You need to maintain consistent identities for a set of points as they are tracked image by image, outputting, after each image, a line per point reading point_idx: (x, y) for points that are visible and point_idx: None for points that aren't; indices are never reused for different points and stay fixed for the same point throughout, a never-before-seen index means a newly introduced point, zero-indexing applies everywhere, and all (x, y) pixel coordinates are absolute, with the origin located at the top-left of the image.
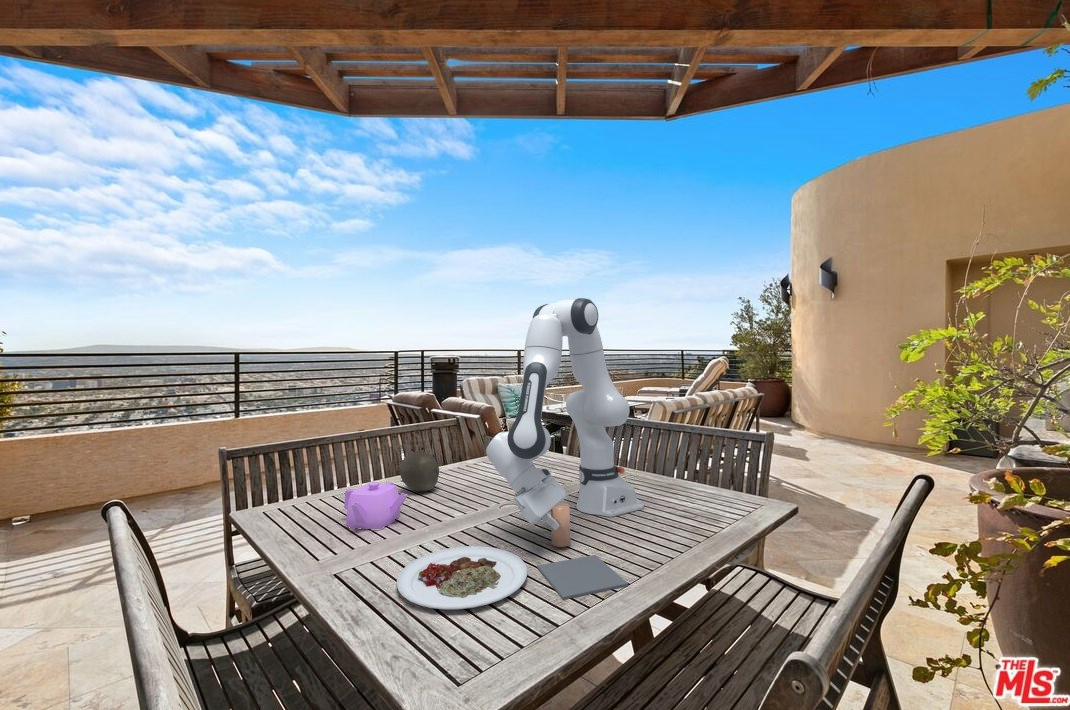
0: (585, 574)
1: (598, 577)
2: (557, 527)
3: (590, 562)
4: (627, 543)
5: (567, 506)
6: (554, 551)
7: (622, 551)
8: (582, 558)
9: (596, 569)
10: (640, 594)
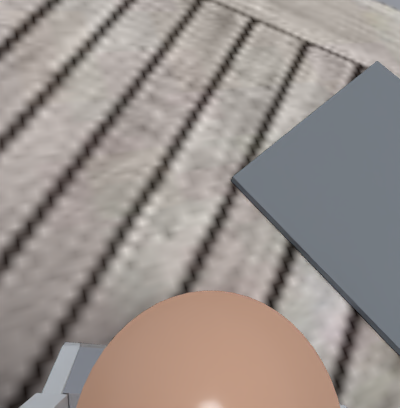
0: (397, 177)
1: (393, 136)
2: None
3: (305, 180)
4: (63, 91)
5: (188, 321)
6: None
7: (146, 100)
8: (286, 216)
9: (346, 150)
10: (395, 40)
